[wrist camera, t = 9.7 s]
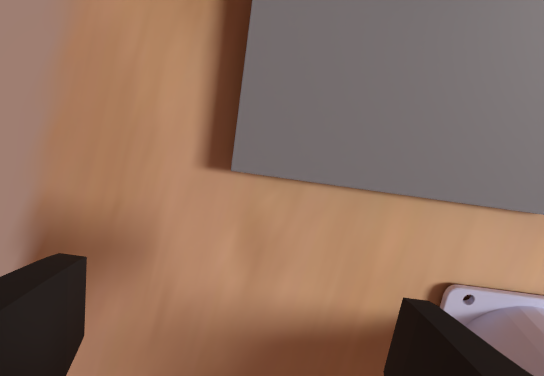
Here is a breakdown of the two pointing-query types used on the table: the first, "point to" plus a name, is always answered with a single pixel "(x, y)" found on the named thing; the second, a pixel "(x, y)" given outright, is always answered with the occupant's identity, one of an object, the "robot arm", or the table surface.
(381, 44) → the pin plate
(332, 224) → the table surface
